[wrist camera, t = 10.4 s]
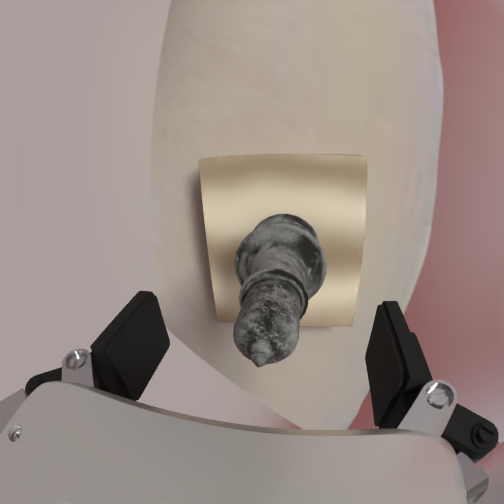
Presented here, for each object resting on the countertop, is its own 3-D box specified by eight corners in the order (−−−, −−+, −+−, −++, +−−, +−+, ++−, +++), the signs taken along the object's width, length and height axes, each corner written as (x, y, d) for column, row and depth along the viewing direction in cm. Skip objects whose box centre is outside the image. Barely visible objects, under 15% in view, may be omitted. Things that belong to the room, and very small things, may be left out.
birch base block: (211, 157, 22) (198, 160, 19) (358, 155, 20) (367, 157, 17) (226, 303, 27) (217, 321, 24) (348, 307, 25) (352, 326, 22)
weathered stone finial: (236, 267, 22) (175, 381, 11) (259, 197, 19) (198, 274, 8) (305, 292, 22) (298, 421, 11) (336, 226, 19) (368, 334, 8)
